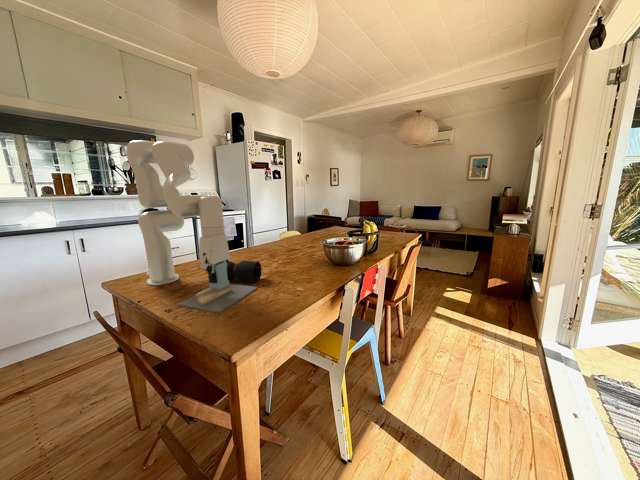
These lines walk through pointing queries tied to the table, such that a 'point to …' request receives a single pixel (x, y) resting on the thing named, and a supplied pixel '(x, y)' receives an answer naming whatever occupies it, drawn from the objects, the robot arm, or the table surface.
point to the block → (220, 276)
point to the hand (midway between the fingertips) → (218, 279)
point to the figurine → (244, 271)
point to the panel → (221, 299)
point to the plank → (211, 294)
